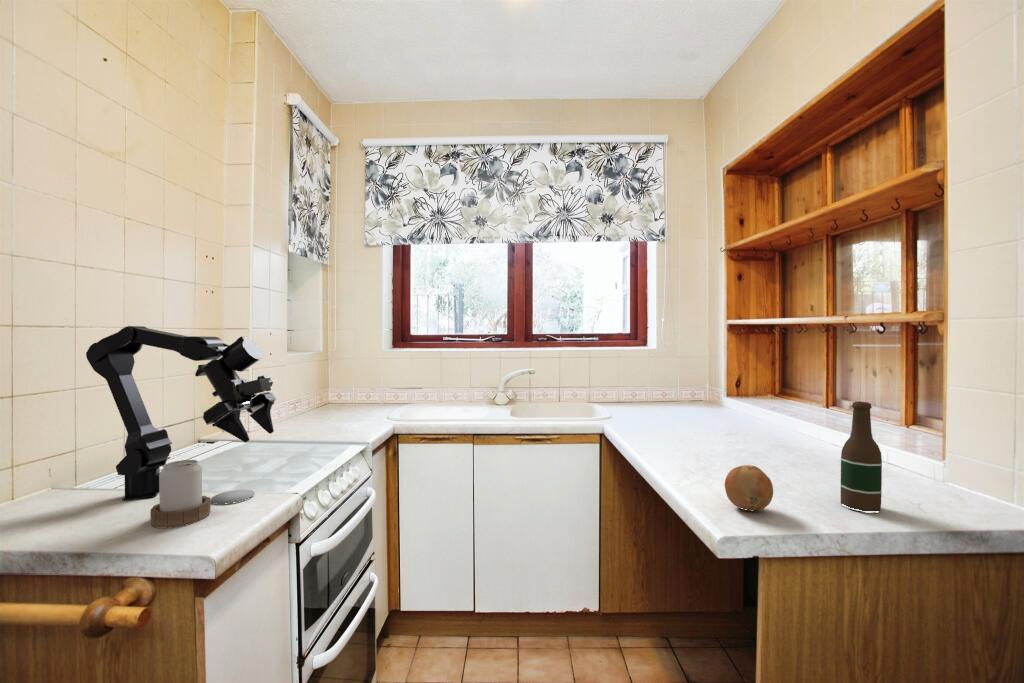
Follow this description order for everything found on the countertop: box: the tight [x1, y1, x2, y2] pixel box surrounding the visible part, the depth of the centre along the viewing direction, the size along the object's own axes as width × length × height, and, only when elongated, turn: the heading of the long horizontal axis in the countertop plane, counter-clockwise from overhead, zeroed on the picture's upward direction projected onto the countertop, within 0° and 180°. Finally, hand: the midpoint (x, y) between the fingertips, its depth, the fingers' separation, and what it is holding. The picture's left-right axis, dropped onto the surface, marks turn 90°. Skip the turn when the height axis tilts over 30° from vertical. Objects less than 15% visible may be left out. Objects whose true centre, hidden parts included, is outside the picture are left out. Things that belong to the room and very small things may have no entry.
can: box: [158, 459, 203, 512], centre depth 99 cm, size 8×8×12 cm
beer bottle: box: [840, 401, 883, 512], centre depth 104 cm, size 8×8×24 cm
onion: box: [724, 464, 774, 511], centre depth 104 cm, size 10×10×10 cm
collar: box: [150, 495, 212, 529], centre depth 99 cm, size 10×10×3 cm
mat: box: [210, 489, 255, 505], centre depth 112 cm, size 9×9×1 cm
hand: (260, 436), depth 111 cm, fingers open, 9 cm apart
